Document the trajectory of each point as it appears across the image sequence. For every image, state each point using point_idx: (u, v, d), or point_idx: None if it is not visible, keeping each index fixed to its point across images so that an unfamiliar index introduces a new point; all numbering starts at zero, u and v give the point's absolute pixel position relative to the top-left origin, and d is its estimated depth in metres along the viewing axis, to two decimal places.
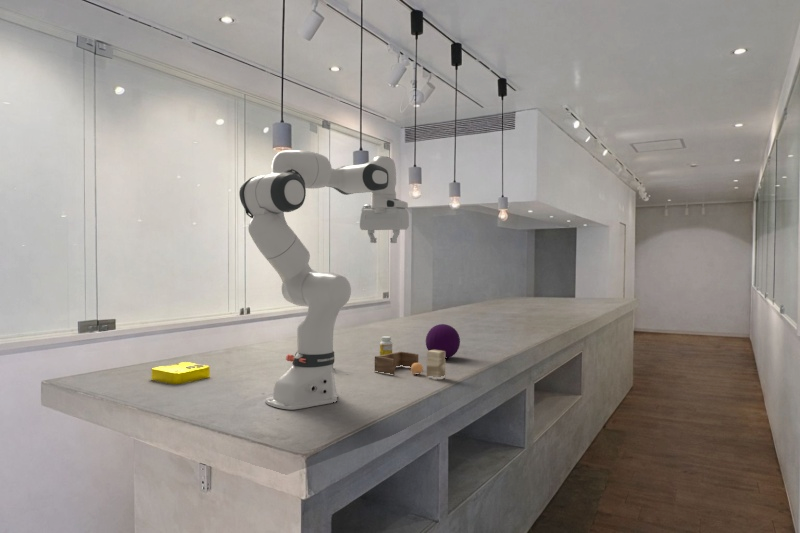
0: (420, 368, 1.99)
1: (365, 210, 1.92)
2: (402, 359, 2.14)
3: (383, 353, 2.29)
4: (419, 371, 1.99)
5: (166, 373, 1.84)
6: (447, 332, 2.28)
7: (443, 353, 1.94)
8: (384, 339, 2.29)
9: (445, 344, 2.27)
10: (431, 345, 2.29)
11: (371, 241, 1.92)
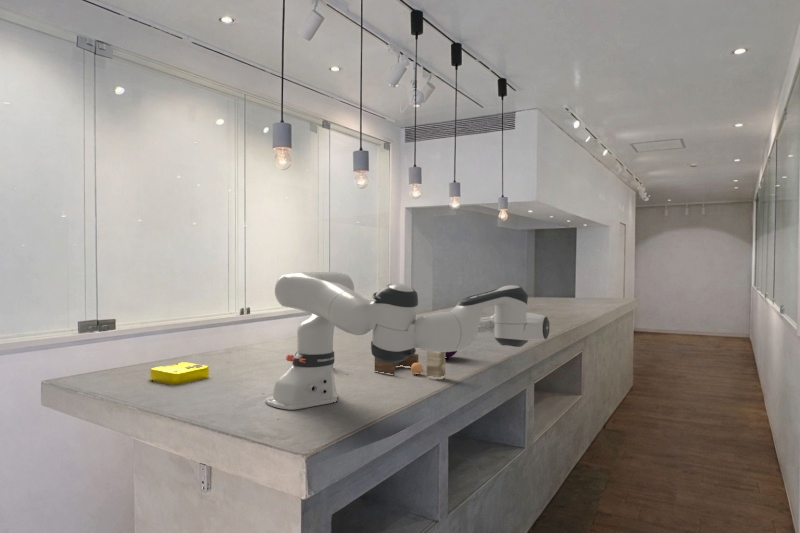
0: (420, 368, 1.99)
1: (484, 331, 1.72)
2: None
3: None
4: (419, 371, 1.99)
5: (165, 373, 1.84)
6: None
7: (443, 353, 1.94)
8: None
9: None
10: None
11: None
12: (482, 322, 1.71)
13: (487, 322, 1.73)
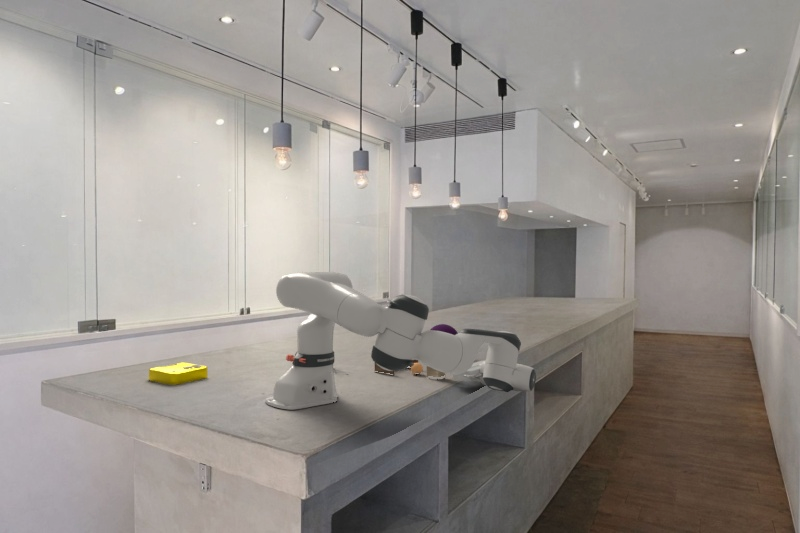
0: (420, 368, 1.99)
1: None
2: None
3: None
4: (419, 371, 1.99)
5: (163, 374, 1.83)
6: (447, 332, 2.28)
7: None
8: None
9: None
10: None
11: None
12: (471, 371, 1.76)
13: (475, 371, 1.78)
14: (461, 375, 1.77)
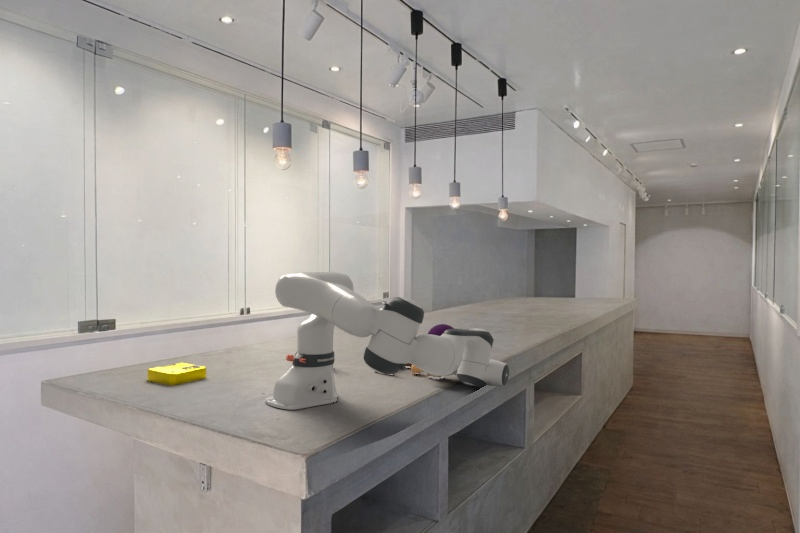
0: None
1: (449, 375, 1.83)
2: None
3: None
4: (419, 371, 1.99)
5: (162, 374, 1.83)
6: None
7: None
8: None
9: None
10: None
11: None
12: None
13: None
14: None
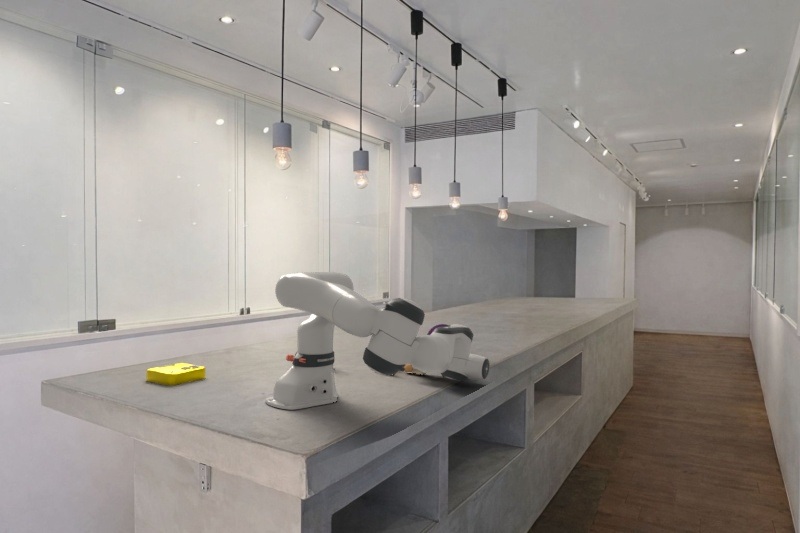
0: None
1: None
2: None
3: None
4: None
5: (161, 374, 1.82)
6: None
7: None
8: None
9: None
10: None
11: None
12: None
13: None
14: None
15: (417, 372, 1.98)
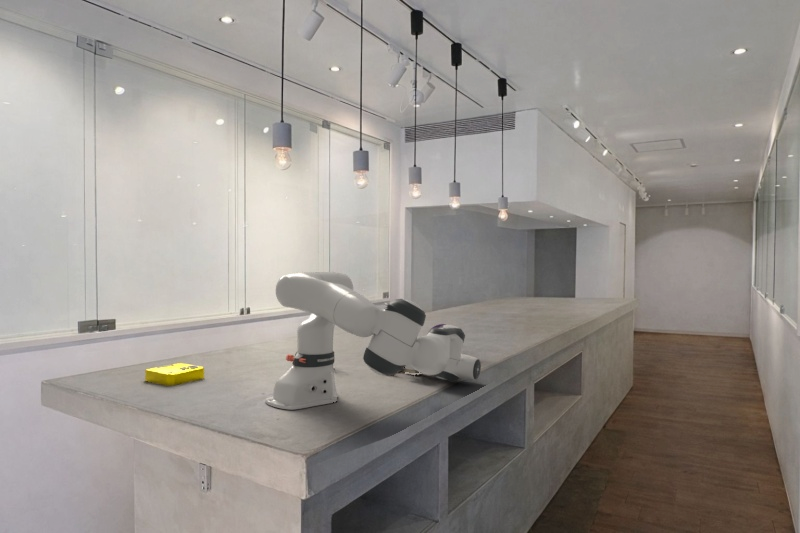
0: None
1: None
2: None
3: None
4: None
5: (159, 374, 1.82)
6: None
7: None
8: None
9: None
10: None
11: None
12: None
13: None
14: None
15: None
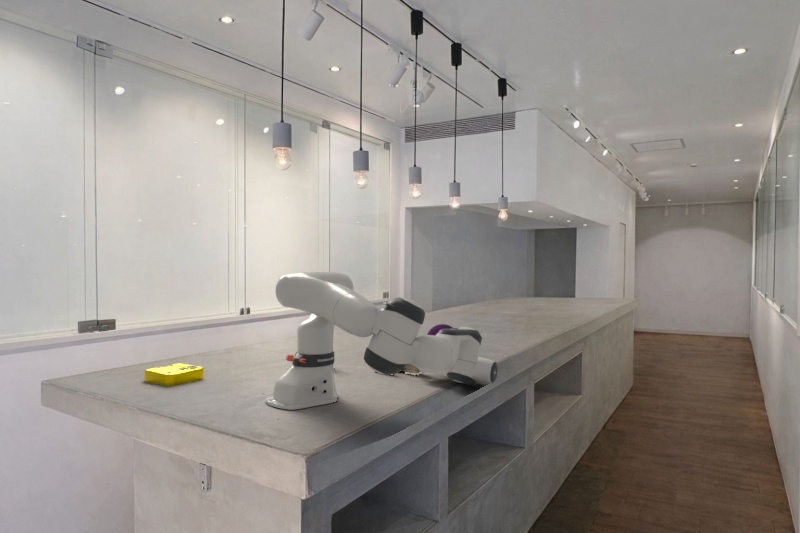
0: None
1: None
2: None
3: None
4: None
5: (159, 374, 1.82)
6: None
7: None
8: None
9: None
10: None
11: None
12: None
13: None
14: None
15: None
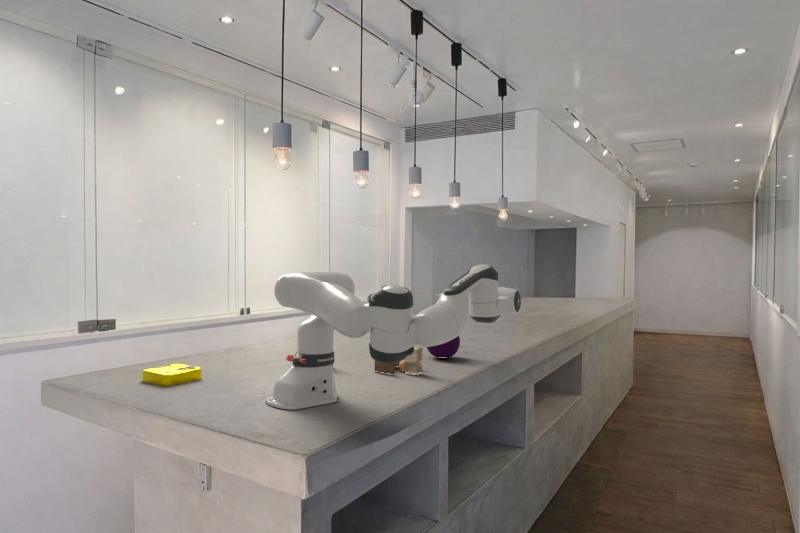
0: None
1: None
2: None
3: None
4: None
5: (156, 375, 1.81)
6: None
7: (420, 350, 2.01)
8: None
9: (445, 344, 2.27)
10: None
11: None
12: None
13: None
14: None
15: None
